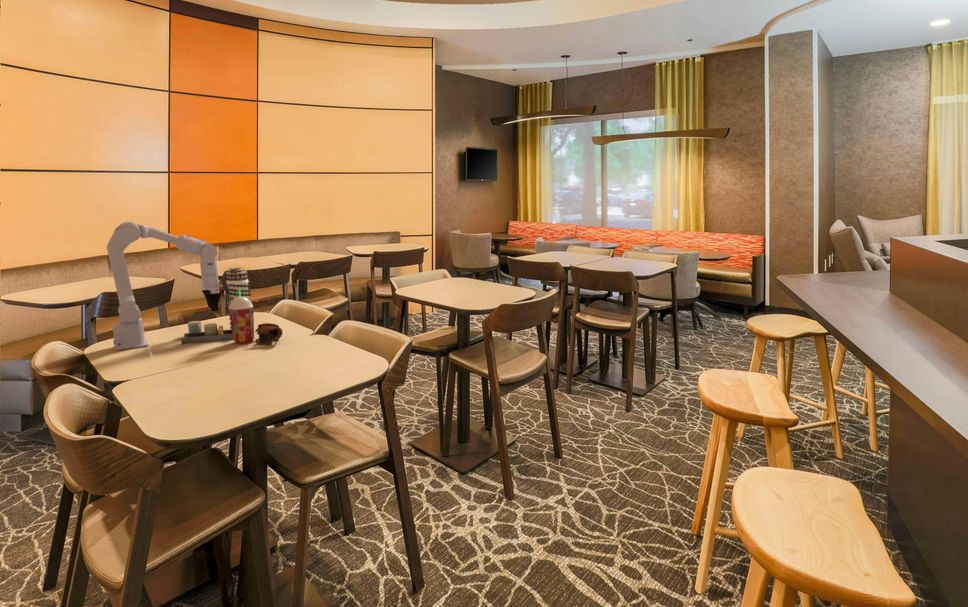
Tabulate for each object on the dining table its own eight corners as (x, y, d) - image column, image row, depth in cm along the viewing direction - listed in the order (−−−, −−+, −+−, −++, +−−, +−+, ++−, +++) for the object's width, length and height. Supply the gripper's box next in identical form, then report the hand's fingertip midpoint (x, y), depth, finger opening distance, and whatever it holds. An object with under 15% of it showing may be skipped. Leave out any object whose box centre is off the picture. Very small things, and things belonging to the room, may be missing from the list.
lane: (181, 345, 194) (180, 333, 193) (185, 339, 201) (183, 328, 200) (235, 340, 200) (234, 328, 199) (237, 335, 207) (235, 324, 207)
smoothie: (261, 340, 200) (256, 287, 196) (249, 346, 192) (244, 291, 188) (239, 339, 201) (234, 287, 197) (227, 345, 193) (221, 291, 189)
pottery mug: (247, 346, 194) (249, 324, 196) (268, 351, 202) (269, 330, 205) (272, 341, 189) (274, 318, 192) (292, 346, 197) (293, 325, 200)
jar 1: (190, 338, 204) (188, 324, 203) (188, 335, 207) (186, 322, 206) (203, 336, 206) (201, 322, 205) (201, 333, 210) (199, 320, 209)
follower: (218, 339, 199) (217, 329, 198) (220, 335, 204) (219, 325, 204) (222, 339, 199) (221, 329, 199) (223, 335, 205) (222, 325, 204)
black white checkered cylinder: (259, 329, 217) (254, 267, 212) (238, 334, 209) (232, 270, 204) (245, 326, 221) (240, 266, 216) (225, 331, 214) (218, 268, 209)
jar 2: (206, 340, 198) (204, 326, 197) (204, 338, 201) (202, 324, 200) (219, 339, 200) (218, 325, 199) (217, 336, 204) (215, 322, 203)
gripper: (224, 275, 201) (227, 311, 203) (218, 271, 212) (221, 305, 215) (203, 277, 197) (207, 313, 200) (198, 272, 209) (202, 307, 211)
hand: (213, 309), depth 207 cm, fingers open, 7 cm apart
